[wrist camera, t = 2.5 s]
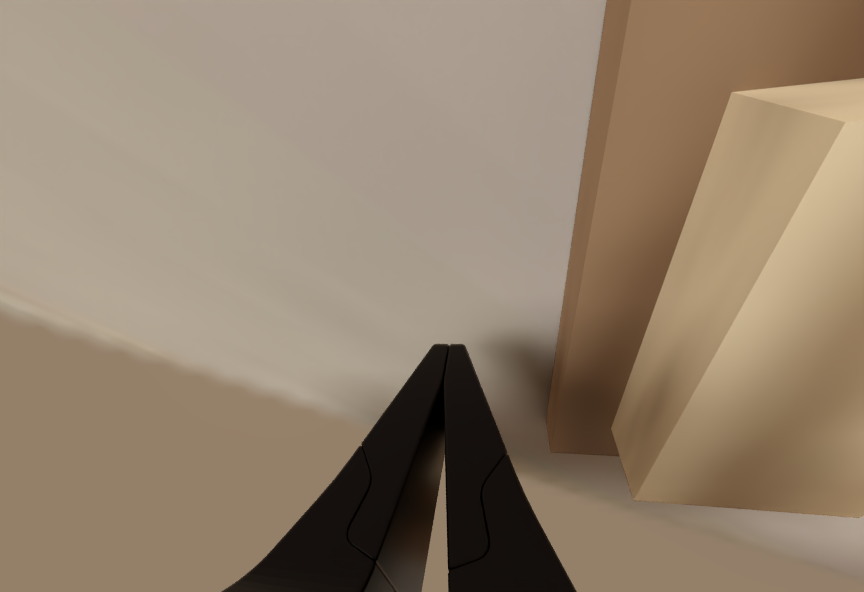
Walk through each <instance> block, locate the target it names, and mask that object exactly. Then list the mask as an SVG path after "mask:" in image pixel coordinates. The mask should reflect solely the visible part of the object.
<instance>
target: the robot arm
mask: <svg viewBox="0 0 864 592" xmlns="http://www.w3.org/2000/svg"><path fill="white" fill-rule="evenodd" d="M444 455H445V467H446V468H445V471H446V509H447V547H448V570H449V573H448V588H449V592H576V590H575V588H574V586H573V584H572V582H571V581H570V579H569V577H568V575H567V573H566V571H565V570H564V568H563V566H562V564H561V562H560V560H559V559H558V557H557V555H556V553H555V551H554V549H553V547H552V546H551V544H550V542H549V540H548V538H547V536H546V534H545V533H544V531H543V529H542V527H541V525H540V523H539V521H538V520H537V518H536V515H535V514H534V512H533V510H532V508H531V505H530V503H529V501H528V500H527V497H526V496H525V493H524V491H523V489H522V487H521V484H520V482H519V480H518V477H517V475H516V473H515V470H514V468H513V465H512V463H511V460H510V458H509V456H508V455H507V450H506V448H505V445H504V443H503V440H502V438H501V435H500V433H499V430H498V428H497V425H496V423H495V420H494V417H493V415H492V412H491V410H490V407H489V405H488V402H487V400H486V397H485V395H484V392H483V390H482V387H481V385H480V382H479V379H478V377H477V374H476V372H475V369H474V367H473V364H472V362H471V359H470V357H469V354H468V352H467V349H466V347H465V345H464V344H451V345H450V346H449V345H448V344H435V345H433V346H432V348H431V349H430V350H429V352H428V353H427V354H426V356H425V357H424V358H423V360H422V361H421V363H420V364H419V365H418V367H417V368H416V369H415V371H414V372H413V374H412V375H411V376H410V378H409V379H408V380H407V382H406V383H405V384H404V386H403V387H402V389H401V390H400V391H399V393H398V394H397V395H396V397H395V398H394V400H393V401H392V402H391V404H390V405H389V406H388V408H387V409H386V411H385V412H384V413H383V415H382V416H381V417H380V419H379V420H378V421H377V423H376V424H375V426H374V427H373V428H372V430H371V431H370V432H369V434H368V435H367V437H366V438H365V439H364V441H363V442H362V446H359V447H358V449H357V450H356V451H355V453H354V454H353V456H352V457H351V458H350V460H349V461H348V462H347V464H346V465H345V466H344V467H343V469H342V470H341V471H340V473H339V474H338V475H337V477H336V478H335V479H334V480H333V481H332V483H331V484H330V485H329V486H328V487H327V488H326V490H325V491H324V492H323V493H322V494H321V496H320V497H319V498H318V499H317V500H316V501H315V502H314V503H313V504H312V506H311V507H310V508H309V509H308V510H307V511H306V512H305V514H304V515H303V516H302V517H301V518H300V519H299V520H298V521H297V522H296V524H295V525H294V526H293V527H292V528H291V529H290V530H289V532H288V533H287V534H286V535H285V536H284V537H283V538H282V539H281V540H280V542H279V543H278V544H277V545H276V546H275V547H274V548H273V549H272V550H271V551H270V553H269V554H268V555H267V556H266V557H265V558H264V559H263V560H262V561H261V562H260V563H259V564H258V565H257V566H255V567H254V568H253V569H252V570H251V571H250V572H248V573H247V574H246V575H245V576H243V577H242V578H241V579H240V580H238V581H237V582H235V583H234V584H232V585H231V586H229V587H228V588H226V589H225V590H223V591H222V592H421V591H422V584H423V579H424V573H425V567H426V561H427V556H428V550H429V544H430V538H431V532H432V526H433V520H434V514H435V508H436V502H437V496H438V490H439V485H440V478H441V472H442V467H443V461H444Z"/></svg>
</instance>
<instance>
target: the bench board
mask: <svg viewBox="0 0 864 592" xmlns="http://www.w3.org/2000/svg"><path fill="white" fill-rule="evenodd" d="M860 78H864V0H607V3H606V10H605V17H604V24H603V31H602V38H601V45H600V51H599V58H598V65H597V72H596V79H595V86H594V93H593V100H592V106H591V113H590V120H589V127H588V134H587V141H586V148H585V155H584V161H583V168H582V175H581V182H580V189H579V196H578V203H577V210H576V216H575V223H574V230H573V237H572V244H571V251H570V258H569V265H568V271H567V278H566V285H565V292H564V299H563V306H562V313H561V320H560V326H559V333H558V340H557V347H556V354H555V361H554V368H553V375H552V381H551V388H550V395H549V402H548V409H547V416H546V425H547V431H548V438H549V444H550V451H551V452H554V453H571V454H589V455H606V456H620V455H619V452H618V449H617V446H616V442H615V439H614V436H613V433H612V430H611V427H612V424H613V422H614V419H615V416H616V413H617V411H618V408H619V405H620V402H621V399H622V397H623V394H624V391H625V388H626V385H627V383H628V380H629V377H630V374H631V372H632V369H633V366H634V363H635V360H636V358H637V355H638V352H639V349H640V346H641V344H642V341H643V338H644V335H645V333H646V330H647V327H648V324H649V321H650V319H651V316H652V313H653V310H654V307H655V305H656V302H657V299H658V296H659V293H660V291H661V288H662V285H663V282H664V280H665V277H666V274H667V271H668V268H669V266H670V263H671V260H672V257H673V254H674V252H675V249H676V246H677V243H678V241H679V238H680V235H681V232H682V229H683V227H684V224H685V221H686V218H687V215H688V213H689V210H690V207H691V204H692V202H693V199H694V196H695V193H696V190H697V188H698V185H699V182H700V179H701V176H702V174H703V171H704V168H705V165H706V162H707V160H708V157H709V154H710V151H711V149H712V146H713V143H714V140H715V137H716V135H717V132H718V129H719V126H720V123H721V121H722V118H723V115H724V112H725V110H726V107H727V104H728V101H729V98H730V96H731V93H732V92H738V91H747V90H757V89H766V88H776V87H785V86H794V85H804V84H813V83H822V82H832V81H841V80H851V79H860Z"/></svg>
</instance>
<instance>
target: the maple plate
mask: <svg viewBox="0 0 864 592" xmlns="http://www.w3.org/2000/svg"><path fill="white" fill-rule="evenodd" d="M611 430H612V433H613V436H614V439H615V442H616V446H617V449H618V452H619V455H620V459H621V462H622V465H623V468H624V471H625V475H626V478H627V481H628V484H629V487H630V491H631V494H632V497H633V500H636V501H648V502H661V503H674V504H687V505H700V506H713V507H726V508H738V509H751V510H764V511H777V512H790V513H803V514H816V515H828V516H841V517H854V518H860V517H862V516H863V515H864V78H860V79H851V80H841V81H832V82H822V83H813V84H804V85H794V86H785V87H776V88H766V89H757V90H747V91H738V92H732V93H731V96H730V98H729V101H728V104H727V107H726V110H725V112H724V115H723V118H722V121H721V123H720V126H719V129H718V132H717V135H716V137H715V140H714V143H713V146H712V149H711V151H710V154H709V157H708V160H707V162H706V165H705V168H704V171H703V174H702V176H701V179H700V182H699V185H698V188H697V190H696V193H695V196H694V199H693V202H692V204H691V207H690V210H689V213H688V215H687V218H686V221H685V224H684V227H683V229H682V232H681V235H680V238H679V241H678V243H677V246H676V249H675V252H674V254H673V257H672V260H671V263H670V266H669V268H668V271H667V274H666V277H665V280H664V282H663V285H662V288H661V291H660V293H659V296H658V299H657V302H656V305H655V307H654V310H653V313H652V316H651V319H650V321H649V324H648V327H647V330H646V333H645V335H644V338H643V341H642V344H641V346H640V349H639V352H638V355H637V358H636V360H635V363H634V366H633V369H632V372H631V374H630V377H629V380H628V383H627V385H626V388H625V391H624V394H623V397H622V399H621V402H620V405H619V408H618V411H617V413H616V416H615V419H614V422H613V424H612V427H611Z"/></svg>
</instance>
